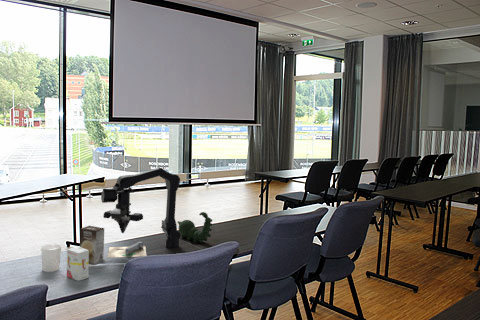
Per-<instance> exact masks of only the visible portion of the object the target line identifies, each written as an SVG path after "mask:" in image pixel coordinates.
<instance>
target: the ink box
mask: <svg viewBox="0 0 480 320" xmlns="http://www.w3.org/2000/svg"><path fill="white" fill-rule="evenodd" d="M89 263H90V262H89V251H88V250H87V249H84V248H81V247H80V246H75V247H71V248H67V250H66V277H68V278H70V279H72V280H76V281H83V280H85V279H89V268H90V267H89V265H90V264H89Z"/></svg>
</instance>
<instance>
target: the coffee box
mask: <svg viewBox="0 0 480 320" xmlns="http://www.w3.org/2000/svg"><path fill="white" fill-rule="evenodd" d="M79 230H80V231H79V233H80V234H79V235H80V237H79V247H81V248H84V249H87V250H88V251H89V265H91V266H96V265H99V264H100V263H99V262H101V261H104V255H105V254H104V253H105V252H104V250H105V248H104V247H105V228H104V227H98V226H95V225H93V226H92V225H87V226H84V227H81V228H80V229H79Z"/></svg>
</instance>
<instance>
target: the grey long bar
mask: <svg viewBox="0 0 480 320" xmlns="http://www.w3.org/2000/svg"><path fill="white" fill-rule="evenodd" d="M143 246H144V241H136V243H134V244H132V245H130V246H127V247H128V248H126V249H125V255H130V254H132V253H133V252H135V251H137V250H139V249H143Z"/></svg>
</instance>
